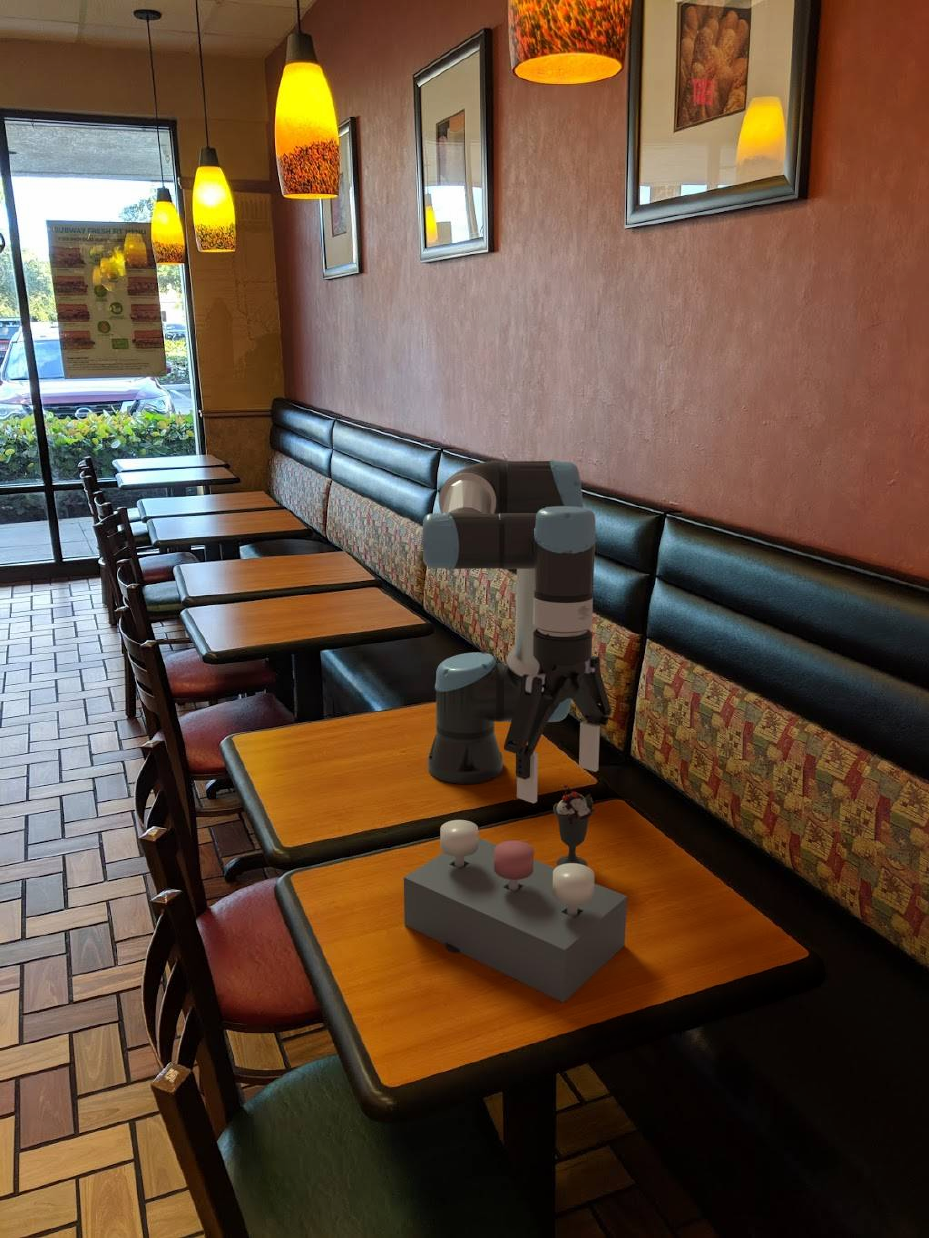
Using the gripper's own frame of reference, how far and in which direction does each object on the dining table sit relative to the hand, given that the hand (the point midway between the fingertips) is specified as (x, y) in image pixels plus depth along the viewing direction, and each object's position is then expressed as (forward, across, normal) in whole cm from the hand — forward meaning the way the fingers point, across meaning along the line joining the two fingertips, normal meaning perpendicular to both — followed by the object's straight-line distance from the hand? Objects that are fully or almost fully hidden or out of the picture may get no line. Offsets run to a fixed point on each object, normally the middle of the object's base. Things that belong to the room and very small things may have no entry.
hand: (558, 783), depth 129 cm
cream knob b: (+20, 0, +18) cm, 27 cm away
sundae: (+26, +22, +14) cm, 37 cm away
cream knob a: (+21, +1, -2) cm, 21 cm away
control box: (+26, +1, +8) cm, 28 cm away
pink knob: (+20, +1, +8) cm, 22 cm away
